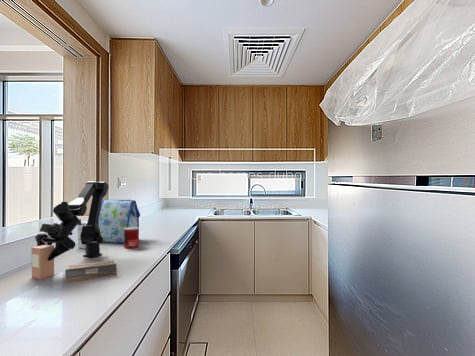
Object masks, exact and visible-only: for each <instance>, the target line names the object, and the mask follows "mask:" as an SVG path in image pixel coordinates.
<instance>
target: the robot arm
mask: <svg viewBox="0 0 475 356" xmlns="http://www.w3.org/2000/svg"><path fill="white" fill-rule="evenodd" d="M108 191H109V184H108V183H107V182H106V181H96V180H93V181H92V180H89V181H86V182H85V186H84V187H83V188H82V189H81V191H80V193H79V194H78V196H77V197H76V198H75V199H73V200H71V201H70V202H69V203H68V202H67V201H61V202H60V203H59V204H57V205H56V206H54V207H53V209H52V212H53V213H54V215H55V216H56V218H57V219H58V220H59V221H60V222H61V223H55V222H54V223H52V224H49V223H42V224H41V226H40V229H39V232H43V233H38V234H37V235H36V236H35V237H34V239H35V241H36V246H41V245H52V246H53V244H55V245H54V250H53V251H52V252H51V254H50V255H49V257H48V259H47V260H48V261H50V260H52V259H54V260H55V258H58V257H59V256H61V255H62V254H64V253H67V252H68V251H70V250H73V249H75V247H76V242H75V241H74V240H73V239H72V237H69V236H72V235H73V231H74V230H75V228H76V227H78V225H81V222H82V219H81V218H79V217H83V216H85V214H86V212H87V209H88V206H87V204H88V202H89V201H90V199H91V203H90V208H89V214H88V218H87V221H88V223H87V224H86V225H85V226H83V227H82V231H81V235H80V238H81V243H82V245H83V244H85V248H84V249H85V254H83V255H82V257H86V258H94V257H98V256H101V255H103V253H101V247H100V245H102V244H103V238H102V236H101V234H100V229H99V227H98V220H99V215H100V209H101V204H102V202H103V199H104V197H105V196H106V195H107V193H108ZM91 197H92V198H91ZM44 233H45V234H44Z"/></svg>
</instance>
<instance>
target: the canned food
mask: <svg viewBox="0 0 475 356" xmlns="http://www.w3.org/2000/svg"><path fill="white" fill-rule="evenodd" d="M139 237H140V226H139V227H127V228H124V243H123V244H124V245H123V247H124V249H136V248H138V247H139V246H140V238H139Z"/></svg>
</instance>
